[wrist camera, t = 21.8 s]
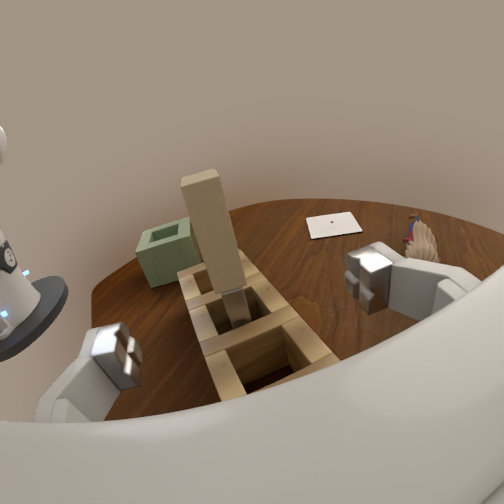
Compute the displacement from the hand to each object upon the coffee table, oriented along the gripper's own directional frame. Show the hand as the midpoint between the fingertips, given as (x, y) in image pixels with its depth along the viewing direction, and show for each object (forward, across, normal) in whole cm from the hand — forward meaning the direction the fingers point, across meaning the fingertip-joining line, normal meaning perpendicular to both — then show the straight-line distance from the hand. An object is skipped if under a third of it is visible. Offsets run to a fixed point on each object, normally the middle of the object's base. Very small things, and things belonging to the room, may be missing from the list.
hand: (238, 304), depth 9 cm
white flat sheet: (+30, -18, +13) cm, 37 cm away
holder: (+31, +7, +13) cm, 34 cm away
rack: (+11, 0, +13) cm, 17 cm away
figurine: (+14, -24, +14) cm, 31 cm away
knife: (+10, 0, +13) cm, 17 cm away
